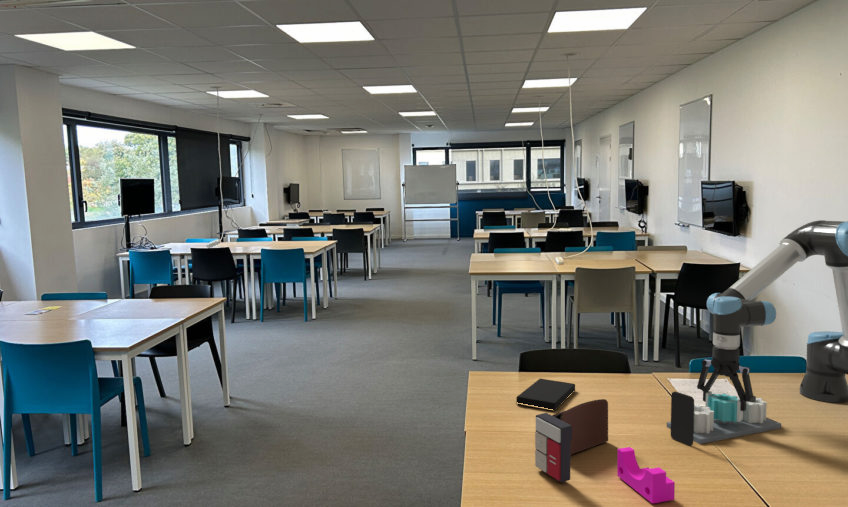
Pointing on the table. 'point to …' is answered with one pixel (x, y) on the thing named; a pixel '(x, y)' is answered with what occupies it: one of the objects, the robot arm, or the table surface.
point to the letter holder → (587, 424)
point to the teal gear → (723, 407)
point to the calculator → (553, 446)
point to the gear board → (731, 423)
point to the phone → (682, 418)
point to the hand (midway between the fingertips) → (723, 415)
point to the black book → (546, 393)
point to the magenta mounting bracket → (644, 478)
